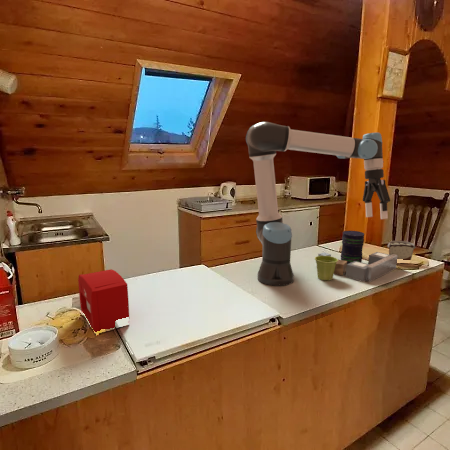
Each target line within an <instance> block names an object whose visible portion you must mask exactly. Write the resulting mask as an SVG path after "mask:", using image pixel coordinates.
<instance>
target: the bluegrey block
mask: <svg viewBox="0 0 450 450" xmlns="http://www.w3.org/2000/svg"><path fill="white" fill-rule="evenodd" d="M317 254H318V255H317V256H331V257H332V254H331V253H327V252H324V251H323V252H320V253H317Z"/></svg>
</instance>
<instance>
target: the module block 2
mask: <svg viewBox="0 0 450 450" xmlns="http://www.w3.org/2000/svg"><path fill="white" fill-rule="evenodd" d="M388 256H390V255H389V253H385V252H379V251H376V252H373V253H371V254H369V255H368V262H367V264H368V265H370V264H372V263H375V262H377V261H379V260H381V259H383V258H386V257H388Z"/></svg>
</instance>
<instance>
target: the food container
mask: <svg viewBox="0 0 450 450" xmlns="http://www.w3.org/2000/svg"><path fill="white" fill-rule="evenodd" d="M387 248H388V254H389V255H392V254H395V255H398V257H397V259H403V260H411V261H412V258H413V253H414V249H416V244H415V243H413V242H410V241H405V240H391V241H389V242H388V243H387Z"/></svg>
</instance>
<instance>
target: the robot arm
mask: <svg viewBox="0 0 450 450" xmlns="http://www.w3.org/2000/svg"><path fill="white" fill-rule="evenodd" d="M245 142H246V145H247V148H248V156H249V159H250V160H252V162H253V170H254V171H253V172H254V180H255V191H256V196H257V197H256V200H257V207H258V215H257V217H256V219H255V221H256V230H255V233H256V237H257V240H258V241H259V242H260V243H261V245H262V257H261V258H262V259H261V262H260V263H261V264H260V266H259V269H258V272H257V280H258V281H259V282H260V283H262V284H264V285H267V286H268V285H269V286H274V287H276V286H277V287H282V286H283V287H284V286H288V285H291V284H292V283H294V277H295V275H294V272H293V267H292V265H291V257H292V256H291V252H292V238H293V232H292V228H291V226H290V225H289V224H287V223H284V222H283V215H281V214H280V213H279V206H278V205H279V204H278V195H277V185H276V172H275V165H274V158H275V157H276V155H277V152H286V151H287V150H290V151H297V152H305V153H307V152H308V153H313V154H314V153H315V154H316V153H317V154H320V155H321V154H323V155H332V156H336V157H337V159H344V160H345V159H362V160H363V165H364V166H363V167H364V179H365V180H367V181H364V189H363V195H362V202H363V203H365V204H364V205H365V207H364V208H365V218H373V217H374V215H373V201H372V199H373V196H374V193H376V195H377V197H378V199H379V209H380V211H379V212H380V214H379V215H380V220H388V219H389V216H388V203H389V202H391V198H390V197H391V196H390V195H389V191H388V189H387V185H386V184H387V183H386V180H385V179H382V178H384V177H385V174H384V169H383V168H384V159H383V158H384V157H383V156H384V155H383V154H384V153H383V138H382V134H381V133H380V132H370V133H364V134H363V135H362V138H357V137H349V136H344V135H343V136H342V135H335V134H328V133H327V134H326V133H320V132H313V131H306V130H298V129H291V127H290V126H289V125H287V126H286V125H281V124H277V123H274V122H269V121H261V122H258V123H255V124H253V125H251V126H250V127H249V128H248V130H247V131H246V134H245Z"/></svg>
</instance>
